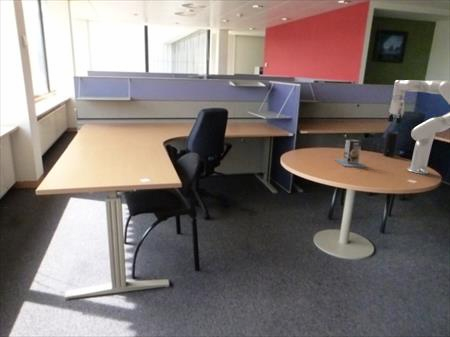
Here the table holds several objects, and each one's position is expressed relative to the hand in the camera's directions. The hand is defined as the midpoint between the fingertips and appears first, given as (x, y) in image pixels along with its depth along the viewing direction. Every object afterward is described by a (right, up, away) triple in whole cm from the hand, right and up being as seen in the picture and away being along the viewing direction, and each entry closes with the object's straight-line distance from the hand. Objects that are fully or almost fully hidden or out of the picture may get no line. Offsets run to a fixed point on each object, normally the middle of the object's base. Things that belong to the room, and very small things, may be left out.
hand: (394, 122), depth 248 cm
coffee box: (-31, -29, +1) cm, 42 cm away
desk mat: (-31, -29, +2) cm, 43 cm away
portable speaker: (+12, -23, +34) cm, 42 cm away
